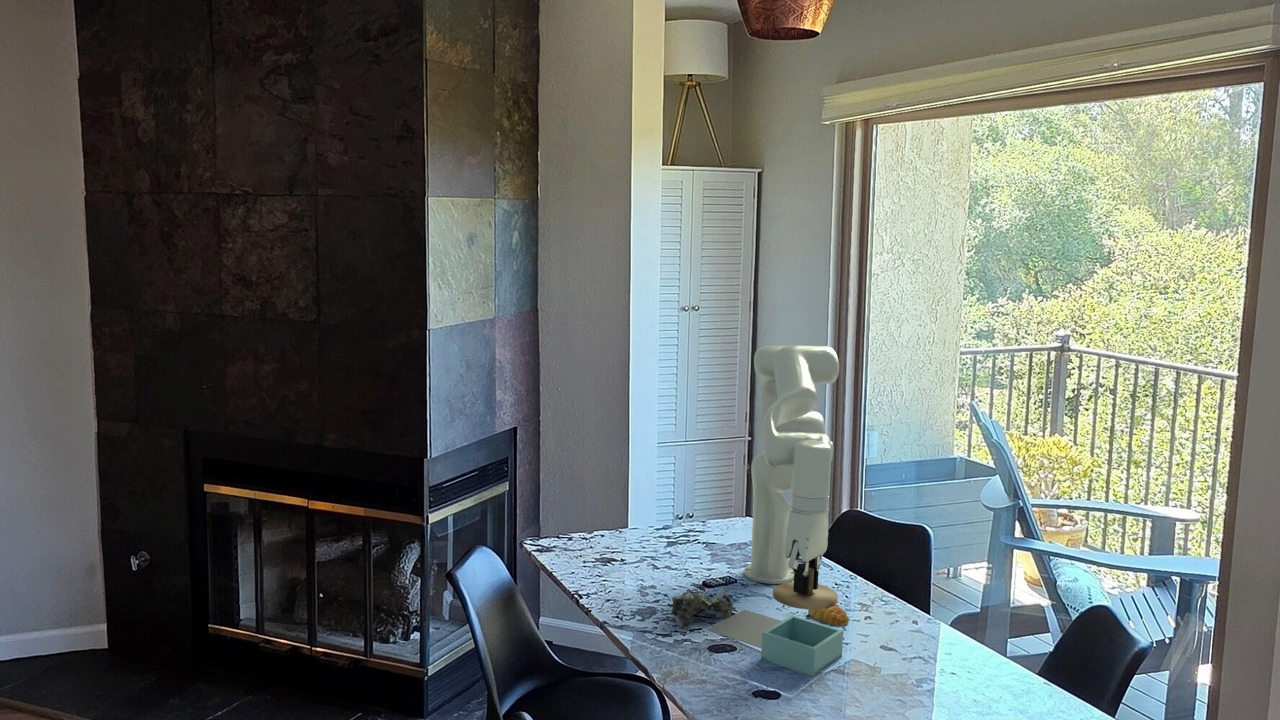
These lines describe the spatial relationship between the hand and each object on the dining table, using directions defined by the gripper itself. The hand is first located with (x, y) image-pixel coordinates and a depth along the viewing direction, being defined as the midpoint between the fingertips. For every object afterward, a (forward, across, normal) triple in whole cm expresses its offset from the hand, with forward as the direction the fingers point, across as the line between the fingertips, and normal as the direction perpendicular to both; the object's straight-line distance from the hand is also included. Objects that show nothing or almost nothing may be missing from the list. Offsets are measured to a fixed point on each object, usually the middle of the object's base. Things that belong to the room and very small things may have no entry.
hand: (805, 589), depth 209 cm
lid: (+2, 0, 0) cm, 2 cm away
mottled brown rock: (+15, -3, -28) cm, 32 cm away
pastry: (+15, -23, -6) cm, 28 cm away
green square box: (+15, 0, 0) cm, 15 cm away
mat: (+15, -6, -15) cm, 22 cm away
